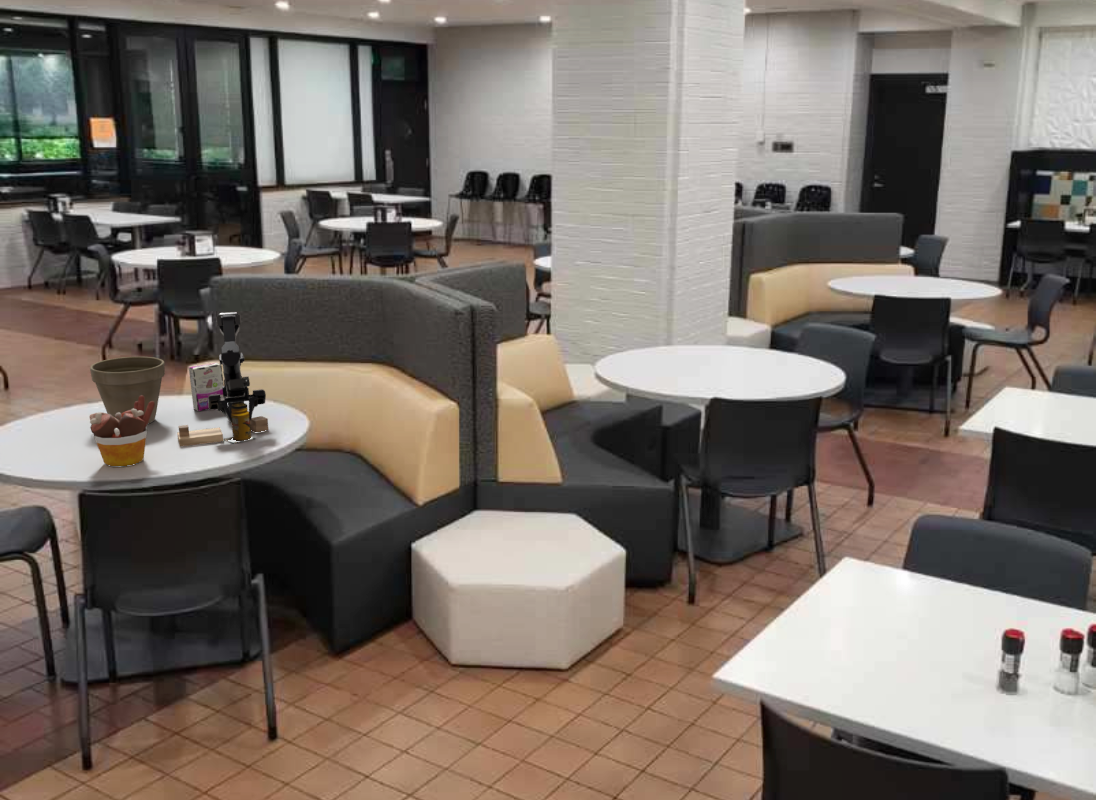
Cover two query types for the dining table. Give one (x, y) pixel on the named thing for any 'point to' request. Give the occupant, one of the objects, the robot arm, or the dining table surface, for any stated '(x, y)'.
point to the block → (259, 424)
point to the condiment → (240, 422)
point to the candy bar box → (205, 384)
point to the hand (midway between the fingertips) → (240, 420)
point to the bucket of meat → (122, 434)
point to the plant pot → (128, 382)
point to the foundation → (198, 436)
